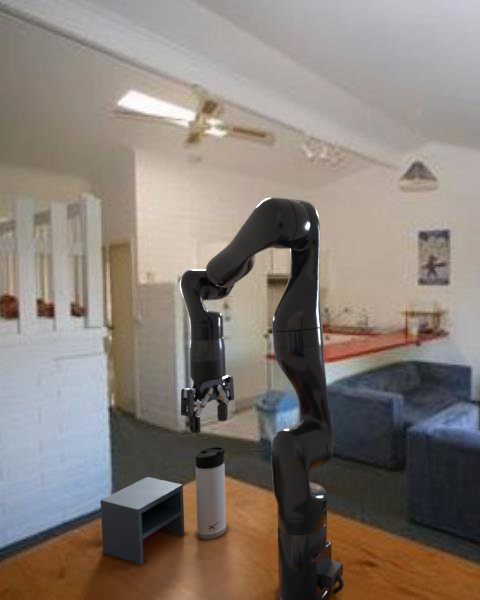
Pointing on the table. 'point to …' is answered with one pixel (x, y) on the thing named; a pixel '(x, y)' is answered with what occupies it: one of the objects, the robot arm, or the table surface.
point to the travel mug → (210, 493)
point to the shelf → (140, 516)
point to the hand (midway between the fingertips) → (209, 426)
